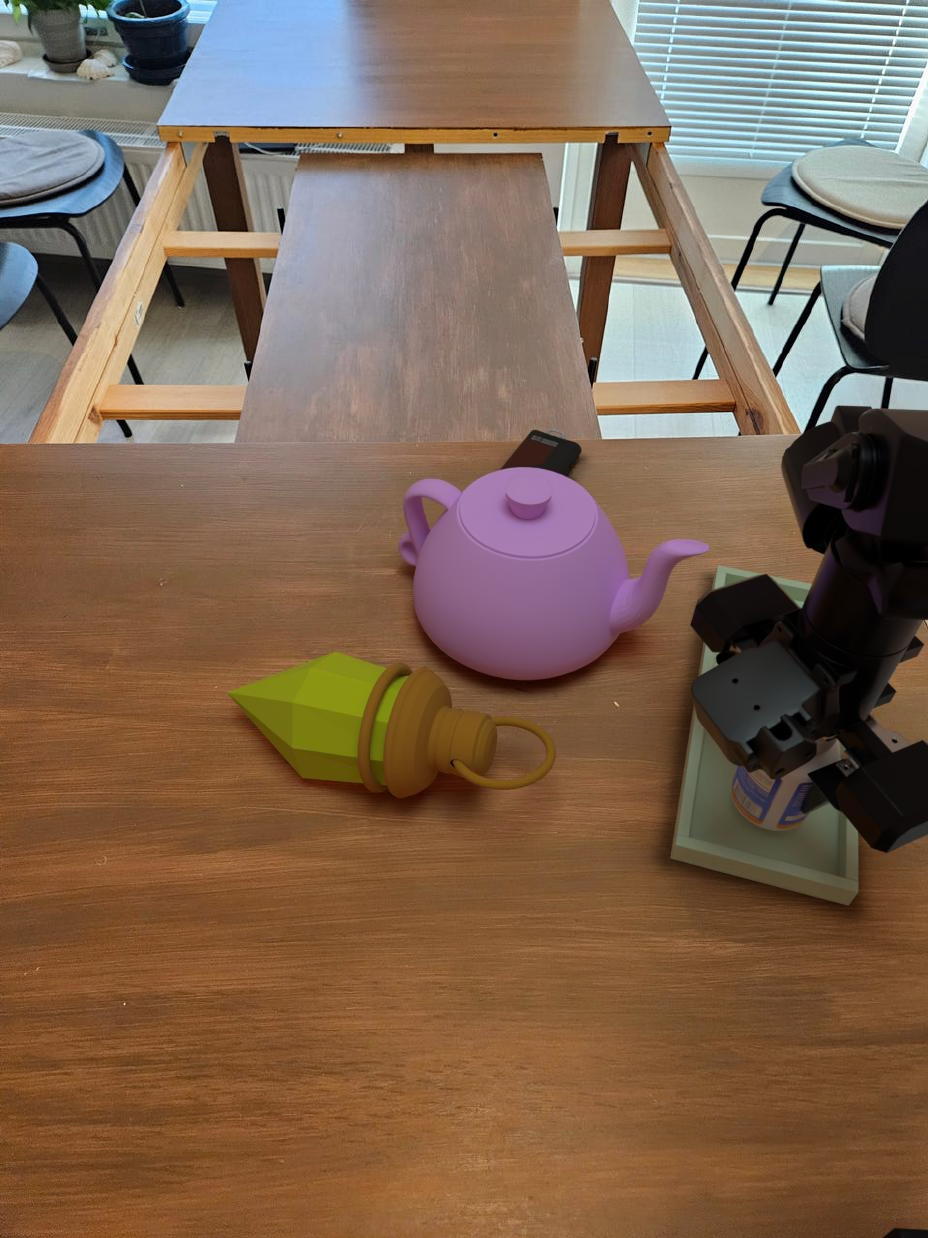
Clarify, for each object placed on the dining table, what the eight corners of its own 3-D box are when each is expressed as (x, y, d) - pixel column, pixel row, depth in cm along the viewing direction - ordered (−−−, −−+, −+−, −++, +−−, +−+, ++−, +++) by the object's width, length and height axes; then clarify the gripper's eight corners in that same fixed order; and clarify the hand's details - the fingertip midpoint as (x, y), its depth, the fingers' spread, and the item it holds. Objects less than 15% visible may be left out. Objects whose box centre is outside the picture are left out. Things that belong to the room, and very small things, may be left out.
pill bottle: (809, 776, 63) (855, 691, 56) (808, 843, 59) (856, 761, 52) (731, 758, 64) (766, 672, 57) (725, 823, 60) (762, 740, 53)
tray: (848, 906, 58) (858, 892, 57) (670, 858, 60) (675, 844, 59) (850, 609, 76) (858, 593, 74) (712, 580, 78) (717, 564, 76)
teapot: (349, 639, 73) (332, 512, 63) (445, 511, 84) (444, 385, 74) (640, 751, 66) (674, 628, 56) (705, 595, 77) (743, 469, 67)
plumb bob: (203, 779, 65) (534, 860, 57) (176, 678, 60) (536, 753, 52) (266, 704, 72) (569, 768, 64) (248, 609, 67) (573, 666, 59)
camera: (590, 442, 87) (541, 509, 81) (585, 464, 89) (537, 530, 83) (532, 419, 89) (480, 483, 82) (528, 441, 91) (478, 505, 85)
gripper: (639, 547, 52) (605, 710, 63) (855, 808, 40) (765, 949, 51) (796, 499, 55) (737, 662, 66) (1039, 729, 43) (915, 878, 55)
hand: (780, 775), depth 59 cm, fingers closed on pill bottle, 5 cm apart
